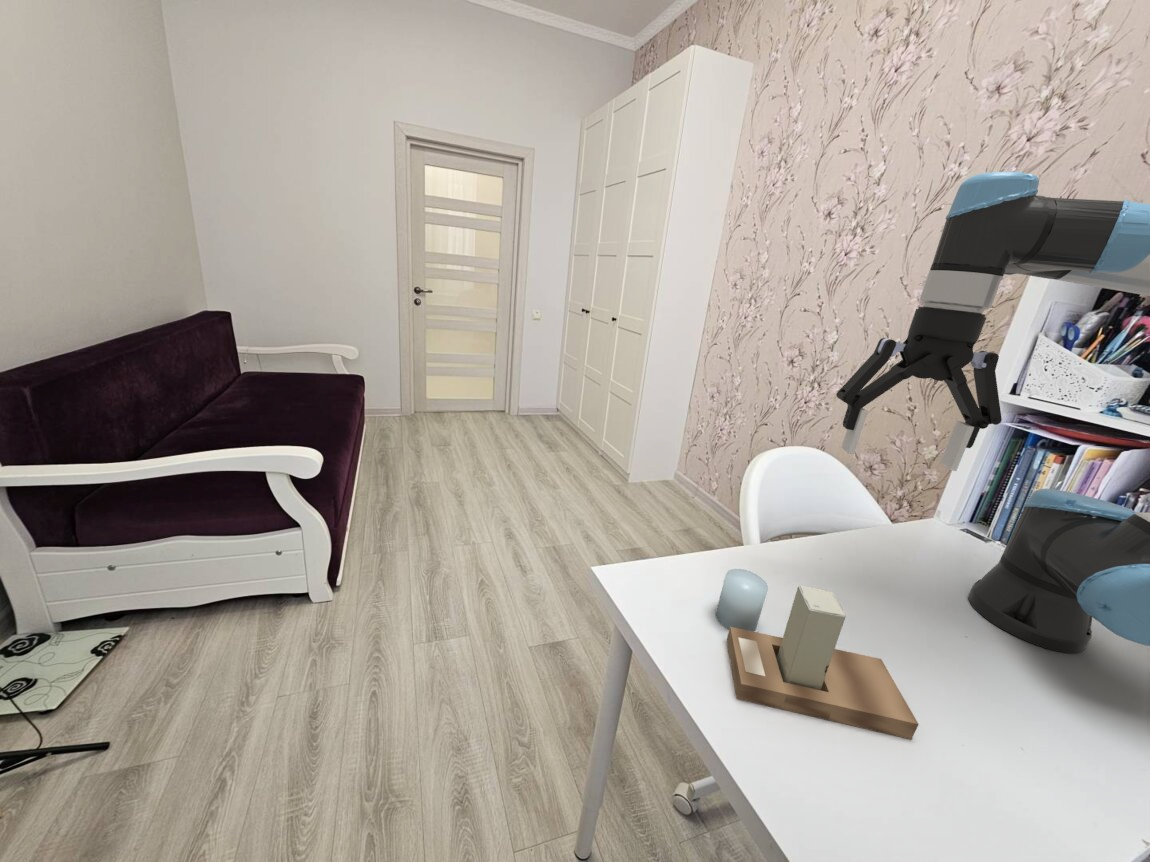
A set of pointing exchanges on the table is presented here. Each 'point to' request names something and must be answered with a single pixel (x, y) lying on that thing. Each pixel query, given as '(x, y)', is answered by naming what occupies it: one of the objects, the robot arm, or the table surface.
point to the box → (810, 637)
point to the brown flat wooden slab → (847, 694)
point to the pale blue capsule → (741, 600)
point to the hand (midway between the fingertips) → (896, 459)
